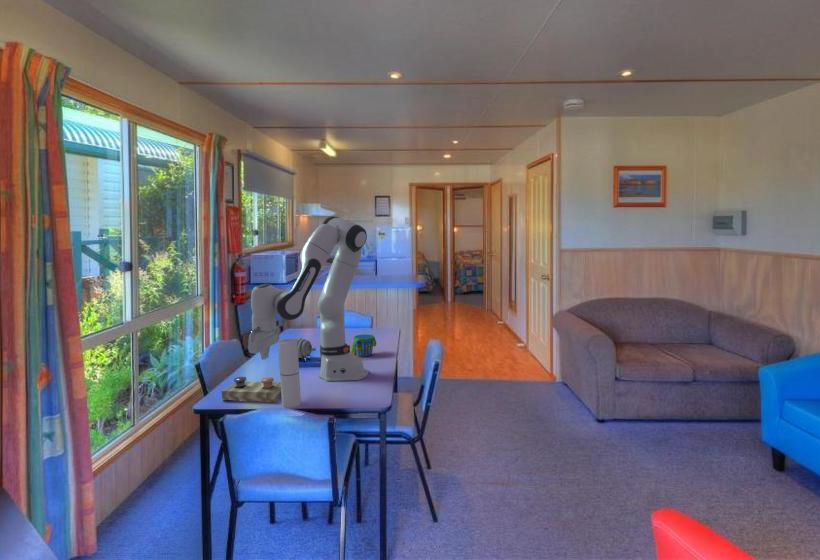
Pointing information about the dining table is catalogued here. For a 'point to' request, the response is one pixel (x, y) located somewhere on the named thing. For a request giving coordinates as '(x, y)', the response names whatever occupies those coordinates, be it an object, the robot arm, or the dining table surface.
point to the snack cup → (363, 345)
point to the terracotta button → (267, 382)
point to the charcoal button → (240, 382)
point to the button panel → (252, 392)
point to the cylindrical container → (289, 372)
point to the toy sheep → (304, 348)
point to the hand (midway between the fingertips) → (264, 358)
